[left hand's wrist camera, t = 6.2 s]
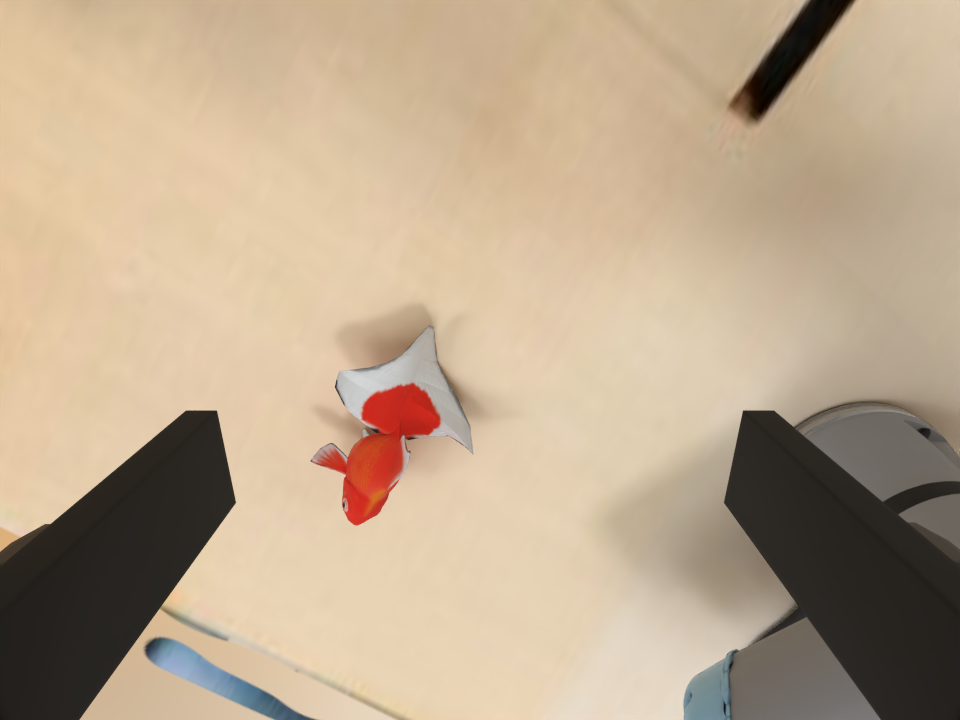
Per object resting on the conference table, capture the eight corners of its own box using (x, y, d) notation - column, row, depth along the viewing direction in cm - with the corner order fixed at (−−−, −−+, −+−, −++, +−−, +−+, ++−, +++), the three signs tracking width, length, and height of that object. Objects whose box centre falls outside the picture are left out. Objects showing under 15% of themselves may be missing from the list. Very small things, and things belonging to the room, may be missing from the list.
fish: (249, 454, 38) (274, 517, 30) (371, 289, 41) (426, 305, 32) (359, 508, 44) (405, 573, 36) (461, 361, 46) (526, 390, 38)
